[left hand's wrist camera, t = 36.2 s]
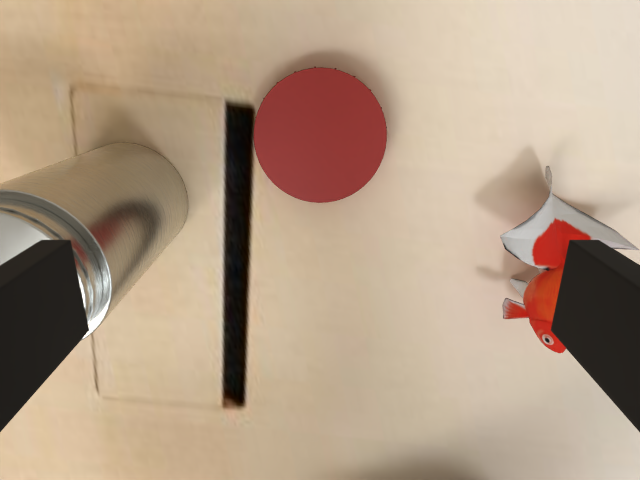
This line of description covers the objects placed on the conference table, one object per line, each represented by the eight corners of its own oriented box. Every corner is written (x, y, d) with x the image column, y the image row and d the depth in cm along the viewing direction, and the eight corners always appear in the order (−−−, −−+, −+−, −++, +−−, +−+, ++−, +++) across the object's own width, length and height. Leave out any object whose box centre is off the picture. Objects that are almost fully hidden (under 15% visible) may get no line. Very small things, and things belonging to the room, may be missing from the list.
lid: (329, 219, 42) (330, 228, 40) (231, 145, 40) (226, 149, 37) (410, 124, 39) (415, 128, 37) (309, 37, 37) (308, 35, 34)
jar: (51, 184, 41) (-143, 269, 24) (135, 118, 39) (-12, 159, 22) (129, 269, 44) (7, 399, 27) (211, 212, 42) (135, 313, 25)
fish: (449, 336, 41) (544, 361, 32) (469, 166, 42) (567, 143, 33) (534, 344, 45) (640, 368, 36) (550, 190, 46) (656, 176, 37)
